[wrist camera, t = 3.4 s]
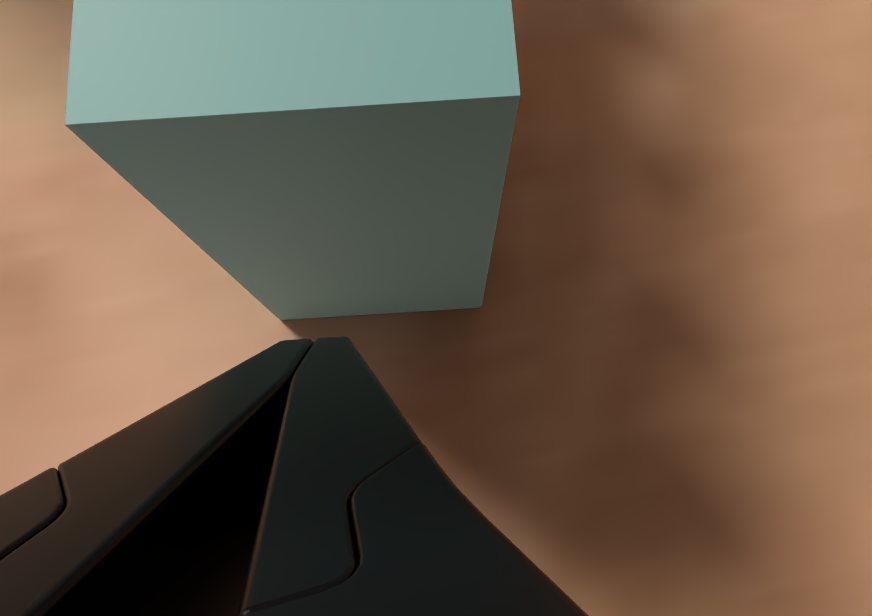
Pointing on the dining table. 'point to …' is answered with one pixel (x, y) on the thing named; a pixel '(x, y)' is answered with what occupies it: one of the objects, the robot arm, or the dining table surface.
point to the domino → (311, 139)
